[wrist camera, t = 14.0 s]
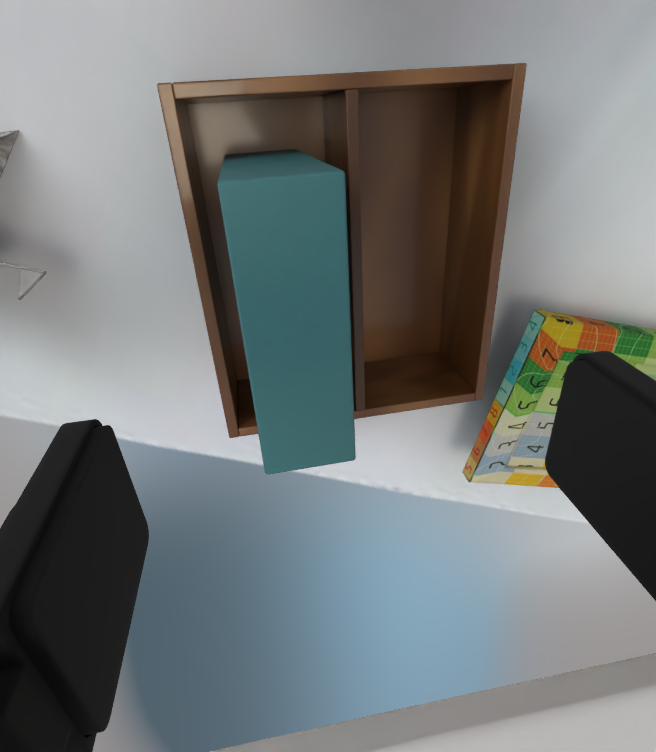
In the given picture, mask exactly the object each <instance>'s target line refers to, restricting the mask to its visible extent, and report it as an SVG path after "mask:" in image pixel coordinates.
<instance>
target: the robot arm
mask: <svg viewBox="0 0 656 752" xmlns="http://www.w3.org/2000/svg"><path fill="white" fill-rule="evenodd" d="M545 467H546V470H547V473H548V474H549V476H550V477H551V478H552V480H553V481H554V482H555V483H556V484H557V485H558V487H559V488H560V489H561V490H562V491H563V493H564V494H565V495H566V496H567V497H568V498H569V500H570V501H571V502H572V503H573V504H574V505H575V507H576V508H577V509H578V510H579V511H580V512H581V514H582V515H583V516H584V517H585V518H586V520H587V521H588V522H589V523H590V524H591V525H592V527H593V528H594V529H595V530H596V531H597V532H598V534H599V535H600V536H601V537H602V538H603V539H604V541H605V542H606V543H607V544H608V545H609V547H610V548H611V549H612V550H613V551H614V552H615V553H616V555H617V556H618V557H619V558H620V559H621V561H622V562H623V563H624V564H625V565H626V566H627V568H628V569H629V570H630V571H631V572H632V574H633V575H634V576H635V577H636V578H637V579H638V580H639V582H640V583H641V584H642V585H643V587H644V588H645V589H646V590H647V591H648V592H649V594H650V595H651V596H652V597H653V598H654V599H655V600H656V380H654V379H652V378H651V377H649V376H648V375H646V374H645V373H643V372H642V371H640V370H638V369H637V368H635V367H634V366H632V365H631V364H629V363H628V362H626V361H624V360H623V359H621V358H620V357H618V356H617V355H615V354H614V353H612V352H610V351H598V352H590V353H583V354H579V355H577V356H576V357H575V358H574V359H573V362H571V363H569V365H568V366H567V368H566V372H565V376H564V381H563V385H562V389H561V393H560V398H559V402H558V406H557V410H556V415H555V419H554V423H553V427H552V432H551V436H550V440H549V444H548V448H547V453H546V457H545ZM148 540H149V531H148V525H147V522H146V519H145V516H144V514H143V511H142V508H141V505H140V502H139V500H138V497H137V494H136V492H135V489H134V486H133V483H132V481H131V478H130V475H129V472H128V470H127V467H126V464H125V461H124V459H123V456H122V453H121V450H120V448H119V445H118V442H117V439H116V437H115V434H114V431H113V429H112V428H111V426H109V425H106V426H102V424H101V423H100V421H99V420H96V419H94V420H87V421H79V422H72V423H66V424H63V425H62V426H61V427H60V429H59V431H58V432H57V434H56V436H55V438H54V439H53V441H52V443H51V444H50V446H49V448H48V450H47V451H46V453H45V455H44V457H43V458H42V460H41V462H40V463H39V465H38V467H37V469H36V470H35V472H34V474H33V476H32V477H31V479H30V481H29V483H28V484H27V486H26V488H25V489H24V491H23V493H22V495H21V497H20V498H19V500H18V502H17V503H16V505H15V506H14V507H13V508H12V510H11V511H10V513H9V515H8V516H7V518H6V520H5V521H4V523H3V525H2V526H1V528H0V752H92V751H93V746H94V742H95V737H96V733H98V732H102V731H104V730H105V729H106V728H107V725H108V723H109V720H110V716H111V711H112V707H113V702H114V698H115V693H116V688H117V684H118V679H119V675H120V669H121V665H122V661H123V656H124V651H125V647H126V642H127V638H128V633H129V629H130V624H131V619H132V615H133V610H134V606H135V601H136V596H137V592H138V587H139V583H140V578H141V574H142V569H143V564H144V560H145V555H146V551H147V546H148ZM211 752H656V653H655V654H651V655H646V656H641V657H637V658H632V659H627V660H622V661H617V662H613V663H608V664H603V665H599V666H594V667H590V668H585V669H580V670H576V671H571V672H567V673H562V674H558V675H553V676H548V677H544V678H539V679H535V680H530V681H525V682H521V683H517V684H512V685H507V686H502V687H498V688H493V689H489V690H485V691H480V692H475V693H471V694H466V695H461V696H457V697H452V698H448V699H443V700H439V701H434V702H429V703H425V704H421V705H416V706H411V707H407V708H402V709H398V710H394V711H389V712H384V713H380V714H376V715H371V716H367V717H362V718H358V719H353V720H349V721H345V722H340V723H335V724H331V725H326V726H322V727H318V728H313V729H308V730H304V731H299V732H295V733H291V734H287V735H282V736H277V737H273V738H268V739H264V740H259V741H255V742H250V743H246V744H241V745H237V746H233V747H228V748H224V749H219V750H215V751H211Z"/></svg>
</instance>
